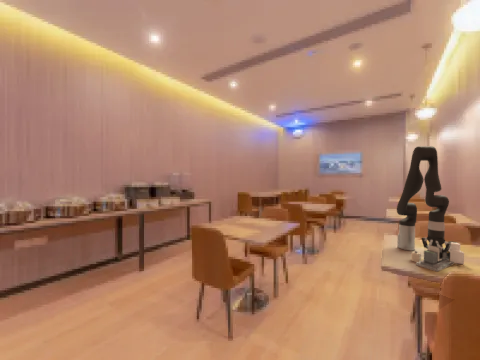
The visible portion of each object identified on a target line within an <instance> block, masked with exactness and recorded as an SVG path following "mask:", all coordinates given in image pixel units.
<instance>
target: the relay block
mask: <svg viewBox="0 0 480 360" xmlns="http://www.w3.org/2000/svg"><path fill="white" fill-rule="evenodd" d="M410 256H411V259H410V260H411V261H412V262H415V263H416V262H419V261H422V260H421V258H422V257H421V256H422V253H421V252H419V251H417V250H412V251H411V253H410Z"/></svg>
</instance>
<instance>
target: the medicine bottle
mask: <svg viewBox="0 0 480 360" xmlns="http://www.w3.org/2000/svg"><path fill="white" fill-rule="evenodd" d="M447 242H448V243H451V246H450V248H449V250H448V252H447V254H446V258H449V260H450V261H454V264H459V265H464V264H465V252H464V251H462V250H461V246H462V245H461V243H460V242H457V241H453V240H452V241H447Z"/></svg>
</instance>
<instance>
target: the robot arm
mask: <svg viewBox="0 0 480 360" xmlns="http://www.w3.org/2000/svg"><path fill="white" fill-rule="evenodd" d="M422 161H427V162H428V169H427V171H426V173H425V175H424V176H423V174H422V172H421V170H420V165H421V162H422ZM423 184H425V197H424V198H425V199H424V201H425V204H426V206H428V207H430V208H436V209H435V210H431V211H429V212H428V222H427V236H426V237H425V236H424V237H421V242H422V246H423V248H425V249H427V250H429V245H430V246H432V245H435V246H437V247H439V251H440V252H439V259H442V258H443V253H446V252H448V250H449V248H450V246H451V243H448V242H449V241H446V240H445V234H446V232H445V231H446V225H445V214H446V212H447V210H448V207H449V205H450V200H449V198H448V197H447V196H446V195H444V194H443V195H442V194H440V195H439V194H436V195H435V193H438V192H441V191H442V184H441V179H440V175H439V159H438V150H437V148H436V147H435V146H432V145H431V146H430V145H429V146H428V145H425V146H424V145H422V146H421V145H420V146H416V147H414V149H413V151H412V156H411V160H410V165H409V170H408V173H407V176H406V179H405V182H404V186H403V189H402V192H401V193H402V194H401V195H400V198H399V200H398V203H397V205H396V213H397V214H398V215H399V216H405V218H402V219H400V220H399V223H398V224H399V226H398V234H397V244H396V245H397V248H398V249H401V250H405V251H416V249H415V248H416V247H415V245H416V244H415V243H416V241H415V240H416V223H417V216H418V206H417V204H415V203H413V202H410V200H411V199H412V198H413V197H414V196H415V195H417V193H419V192H420V190H422V187H423ZM427 241H428V242H427ZM440 246H441V247H440ZM443 246H445V247H443ZM443 248H445V249H444V250H443Z"/></svg>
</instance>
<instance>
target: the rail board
mask: <svg viewBox="0 0 480 360" xmlns="http://www.w3.org/2000/svg"><path fill="white" fill-rule="evenodd" d="M444 249H445V247H443V250H444ZM437 254H438V252H434V251H430V250H428V249H427V250H426V249H425V250H424V251H423V259H422V260H421V261H419V262H415V265H416V266H418V267H421V268H424V269H427V270H430V271H434V272H439V271H441V270H443V269H446V268H448V267H450V266H453V265H454V264H455V263H454V261H450V260H449V258H446V254H447V252H446V253H443V258H442V260H440V261H437Z"/></svg>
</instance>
